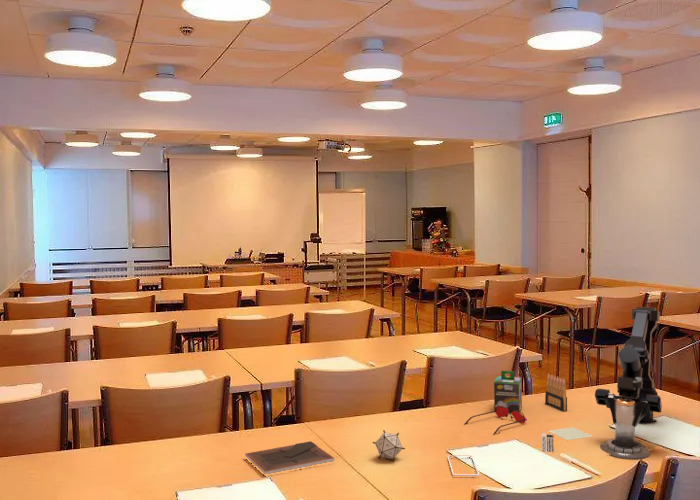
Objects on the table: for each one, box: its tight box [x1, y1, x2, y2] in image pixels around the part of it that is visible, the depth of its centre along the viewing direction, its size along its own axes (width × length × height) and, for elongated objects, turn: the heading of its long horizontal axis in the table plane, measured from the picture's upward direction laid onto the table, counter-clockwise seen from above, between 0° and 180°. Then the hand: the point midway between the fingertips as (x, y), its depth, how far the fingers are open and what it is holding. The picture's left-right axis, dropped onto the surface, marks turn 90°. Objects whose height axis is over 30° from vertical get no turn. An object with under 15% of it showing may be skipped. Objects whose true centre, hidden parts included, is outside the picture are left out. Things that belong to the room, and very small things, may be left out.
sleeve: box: [614, 398, 636, 446], centre depth 209 cm, size 6×6×13 cm
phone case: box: [447, 454, 480, 477], centre depth 198 cm, size 7×1×15 cm
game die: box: [372, 429, 406, 462], centre depth 205 cm, size 9×8×10 cm
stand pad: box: [548, 427, 594, 441], centre depth 225 cm, size 10×10×1 cm
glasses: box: [463, 405, 528, 436], centre depth 236 cm, size 14×16×5 cm
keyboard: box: [541, 433, 555, 453], centre depth 216 cm, size 17×6×2 cm, turn 164°
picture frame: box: [244, 440, 335, 474], centre depth 204 cm, size 16×2×22 cm
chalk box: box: [493, 370, 523, 414], centre depth 253 cm, size 9×9×15 cm
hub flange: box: [599, 437, 651, 460], centre depth 210 cm, size 14×14×2 cm
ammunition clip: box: [544, 372, 568, 413], centre depth 256 cm, size 11×2×12 cm, turn 21°
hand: (624, 424), depth 208 cm, fingers closed on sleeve, 5 cm apart
